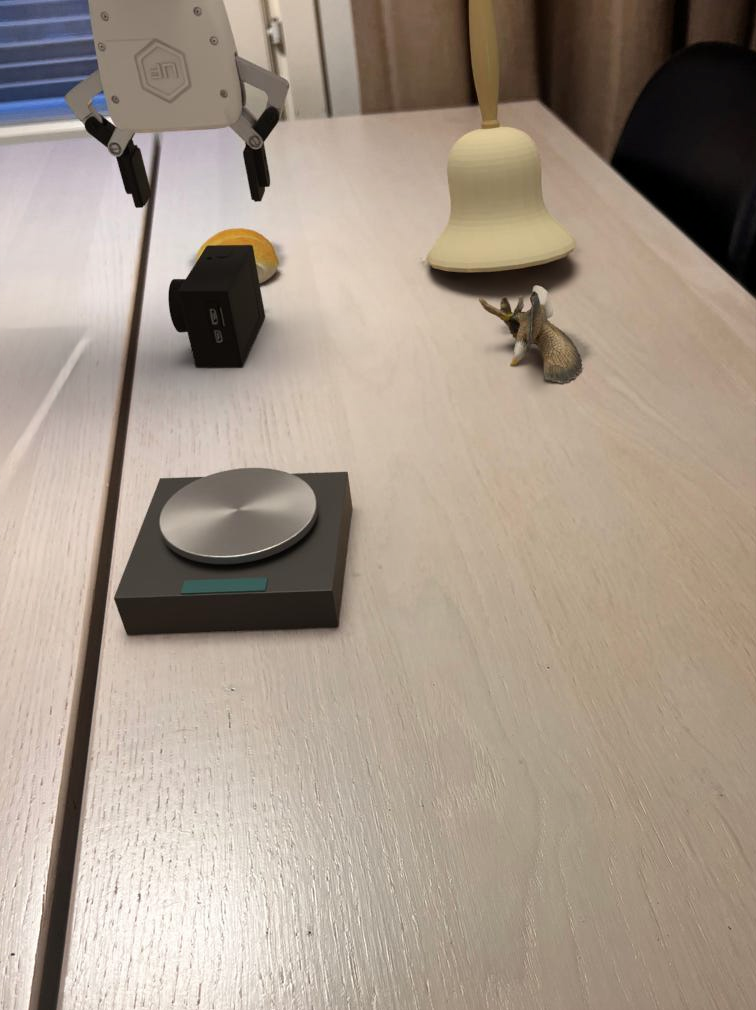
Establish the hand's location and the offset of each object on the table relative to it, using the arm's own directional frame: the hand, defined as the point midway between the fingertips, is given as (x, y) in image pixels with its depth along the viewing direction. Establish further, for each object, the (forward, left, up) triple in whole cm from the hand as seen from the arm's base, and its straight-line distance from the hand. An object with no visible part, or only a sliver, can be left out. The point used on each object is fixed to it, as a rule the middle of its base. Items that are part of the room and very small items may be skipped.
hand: (201, 199), depth 82 cm
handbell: (+26, +15, -13) cm, 32 cm away
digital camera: (0, 0, -13) cm, 13 cm away
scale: (+7, -34, -13) cm, 37 cm away
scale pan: (+7, -34, -10) cm, 36 cm away
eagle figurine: (+28, -6, -13) cm, 31 cm away
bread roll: (-1, +16, -13) cm, 20 cm away
